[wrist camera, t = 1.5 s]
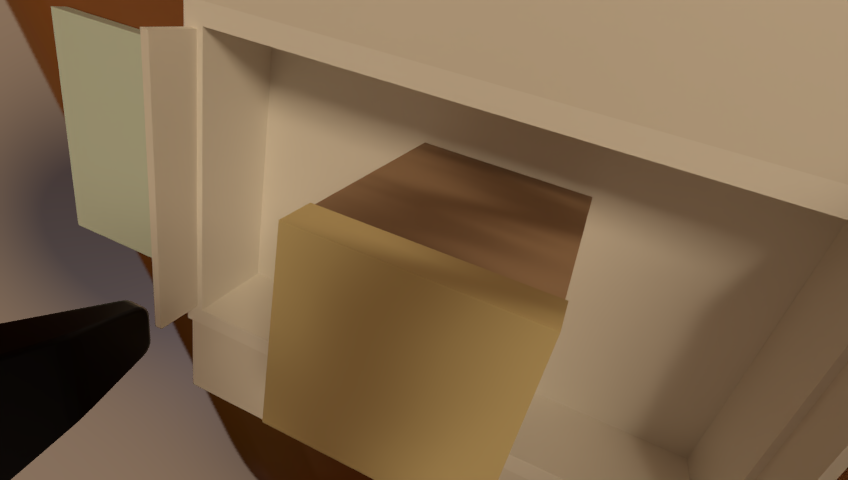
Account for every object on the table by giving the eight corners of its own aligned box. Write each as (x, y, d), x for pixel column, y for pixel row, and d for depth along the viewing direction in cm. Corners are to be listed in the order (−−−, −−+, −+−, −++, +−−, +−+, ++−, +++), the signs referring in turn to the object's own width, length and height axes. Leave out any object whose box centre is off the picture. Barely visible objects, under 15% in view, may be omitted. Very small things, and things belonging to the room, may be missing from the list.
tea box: (595, 196, 14) (560, 332, 8) (537, 341, 16) (475, 532, 10) (423, 140, 15) (279, 220, 9) (393, 283, 17) (262, 421, 11)
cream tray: (994, 34, 10) (1253, 43, 6) (657, 522, 18) (663, 682, 13) (277, -115, 14) (122, -173, 10) (250, 331, 22) (155, 407, 17)
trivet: (269, 70, 17) (257, 72, 16) (255, 292, 21) (245, 300, 20) (66, 6, 19) (50, 6, 18) (90, 220, 23) (78, 224, 22)
